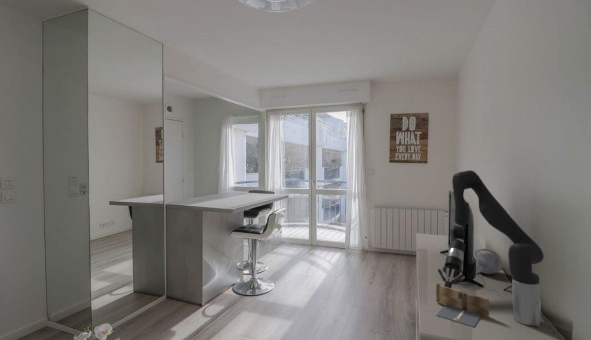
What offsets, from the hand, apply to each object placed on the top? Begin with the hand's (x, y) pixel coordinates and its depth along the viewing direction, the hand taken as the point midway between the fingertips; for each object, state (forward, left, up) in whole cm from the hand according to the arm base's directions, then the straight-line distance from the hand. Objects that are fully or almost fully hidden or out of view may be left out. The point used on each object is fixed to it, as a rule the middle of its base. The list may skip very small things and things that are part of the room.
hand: (447, 289), depth 148 cm
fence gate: (-2, +6, -5) cm, 8 cm away
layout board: (-9, +10, -5) cm, 14 cm away
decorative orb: (-6, -52, -6) cm, 53 cm away
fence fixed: (-13, +6, -5) cm, 15 cm away
